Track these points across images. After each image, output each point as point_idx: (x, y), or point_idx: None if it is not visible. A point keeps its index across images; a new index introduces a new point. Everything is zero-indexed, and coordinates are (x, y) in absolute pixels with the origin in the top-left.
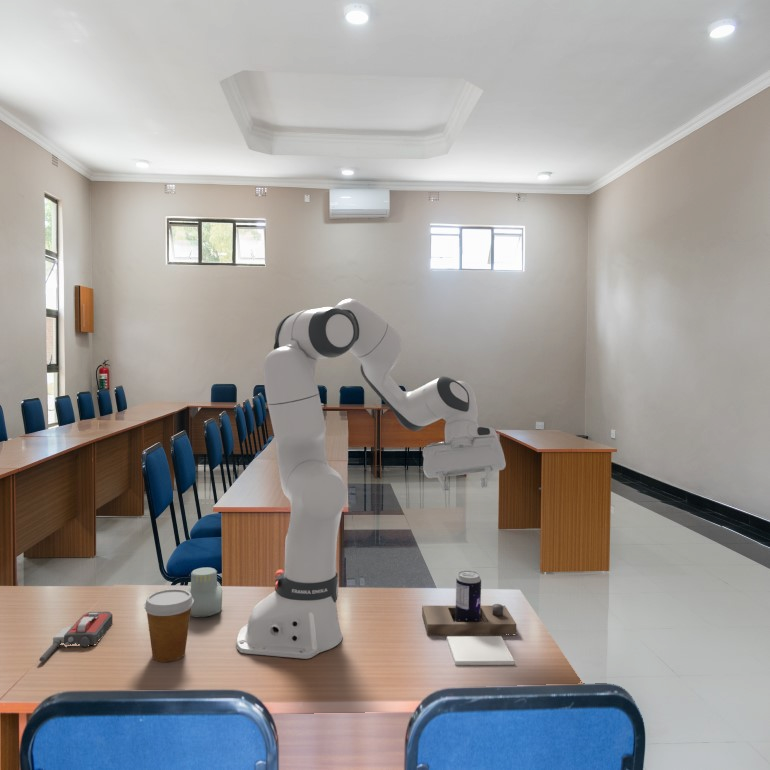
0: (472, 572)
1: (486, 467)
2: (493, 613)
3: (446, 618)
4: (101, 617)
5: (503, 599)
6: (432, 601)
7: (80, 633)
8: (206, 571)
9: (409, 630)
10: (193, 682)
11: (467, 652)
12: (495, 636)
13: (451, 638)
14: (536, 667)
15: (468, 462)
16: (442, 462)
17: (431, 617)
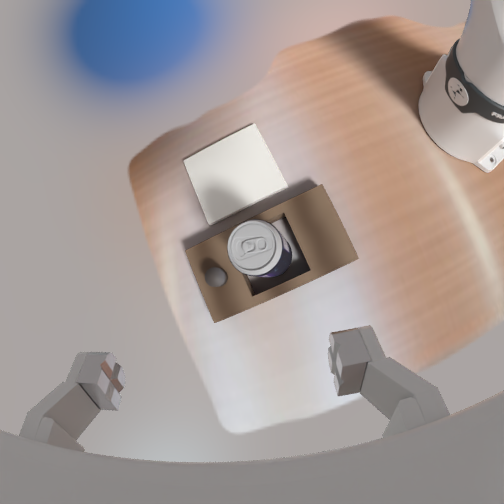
0: (248, 266)
1: (37, 439)
2: (224, 270)
3: (299, 221)
4: None
5: (235, 391)
6: None
7: None
8: None
9: (355, 195)
10: None
11: (245, 152)
12: (216, 220)
13: (278, 182)
14: (160, 170)
15: (133, 500)
16: (438, 499)
17: (325, 213)
